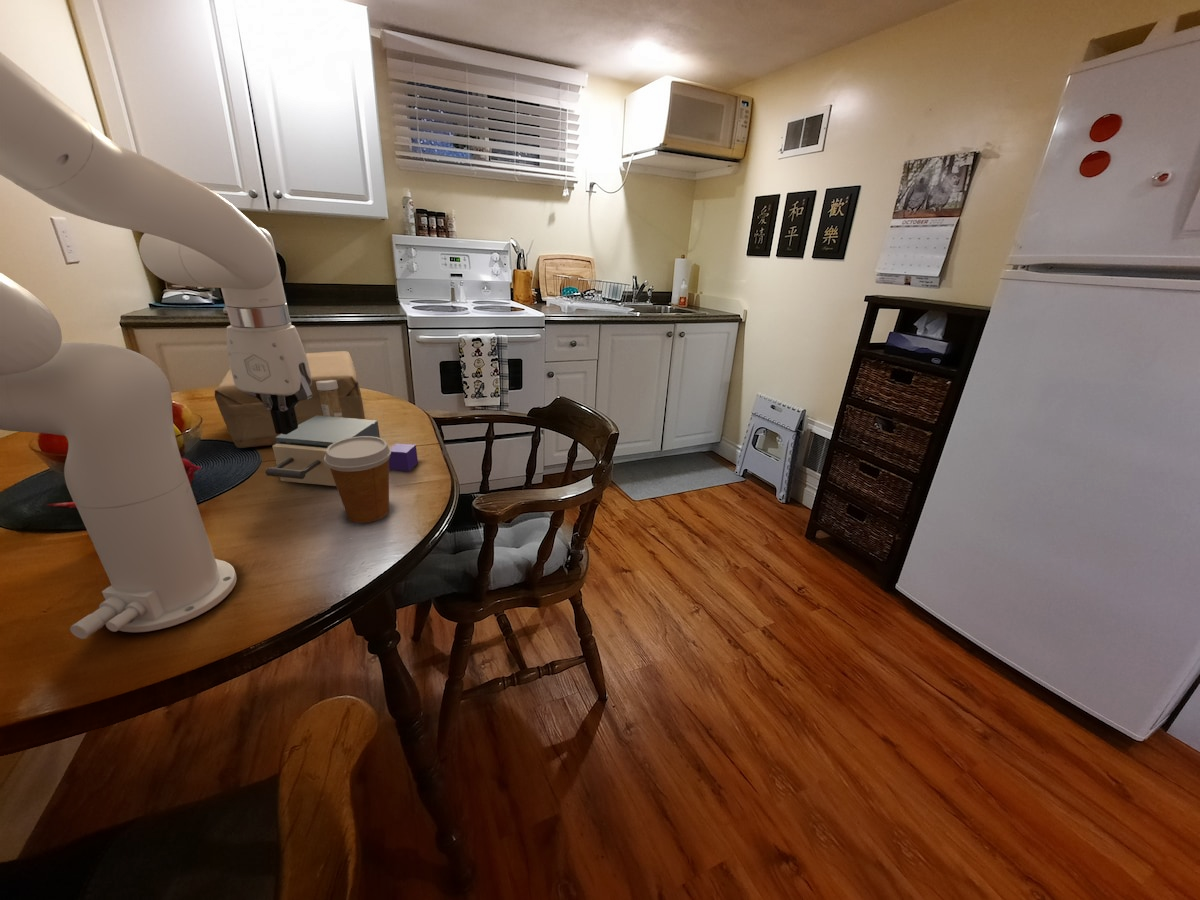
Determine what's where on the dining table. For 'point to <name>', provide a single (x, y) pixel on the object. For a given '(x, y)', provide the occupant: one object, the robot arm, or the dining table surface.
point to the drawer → (301, 464)
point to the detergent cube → (403, 457)
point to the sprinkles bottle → (329, 398)
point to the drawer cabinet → (329, 430)
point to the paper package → (255, 421)
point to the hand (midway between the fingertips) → (287, 430)
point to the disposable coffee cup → (361, 476)
